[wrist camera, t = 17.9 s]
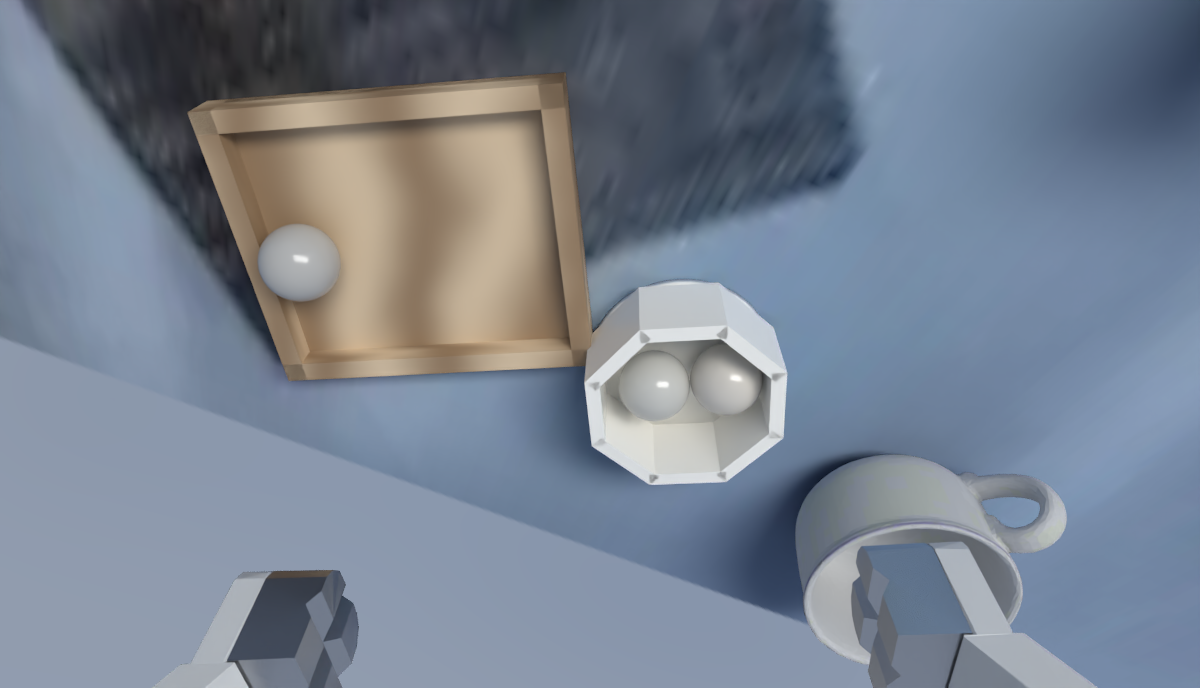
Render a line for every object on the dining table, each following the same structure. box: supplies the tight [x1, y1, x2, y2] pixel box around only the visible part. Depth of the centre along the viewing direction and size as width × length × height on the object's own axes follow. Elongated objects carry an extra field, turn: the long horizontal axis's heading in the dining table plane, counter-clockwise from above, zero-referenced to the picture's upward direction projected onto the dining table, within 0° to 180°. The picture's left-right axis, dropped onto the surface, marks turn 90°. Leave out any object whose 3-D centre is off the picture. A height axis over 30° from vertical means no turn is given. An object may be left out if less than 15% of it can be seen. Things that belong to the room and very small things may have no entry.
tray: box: [187, 72, 593, 381], centre depth 36 cm, size 16×14×2 cm
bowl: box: [584, 279, 787, 485], centre depth 38 cm, size 9×9×5 cm
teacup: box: [795, 454, 1067, 665], centre depth 41 cm, size 14×11×8 cm
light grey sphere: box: [619, 350, 690, 421], centre depth 38 cm, size 4×4×4 cm
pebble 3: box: [690, 343, 763, 415], centre depth 38 cm, size 4×4×4 cm
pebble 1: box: [257, 224, 341, 302], centre depth 35 cm, size 4×4×4 cm
